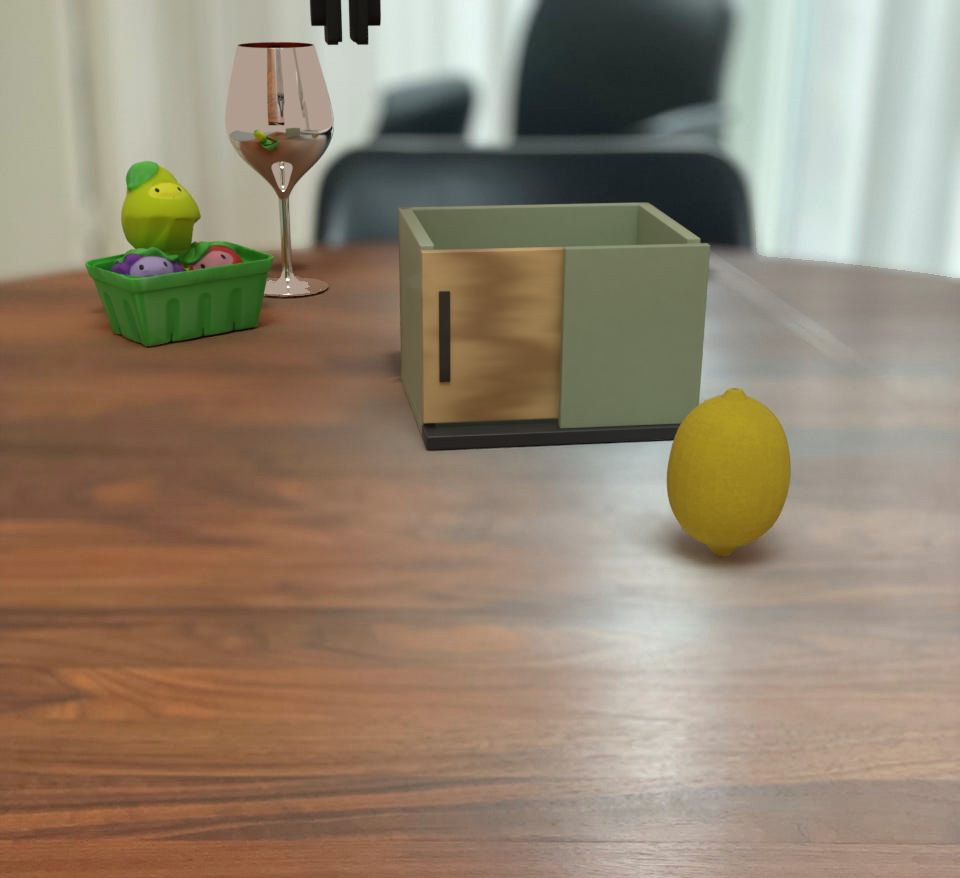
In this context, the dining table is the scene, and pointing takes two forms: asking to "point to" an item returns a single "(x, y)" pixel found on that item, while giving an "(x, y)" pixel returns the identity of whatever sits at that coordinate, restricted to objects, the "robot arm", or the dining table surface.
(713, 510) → the lemon
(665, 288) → the cupboard
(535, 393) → the closet door
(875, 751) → the dining table surface
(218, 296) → the fruit basket
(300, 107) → the wineglass
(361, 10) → the robot arm
